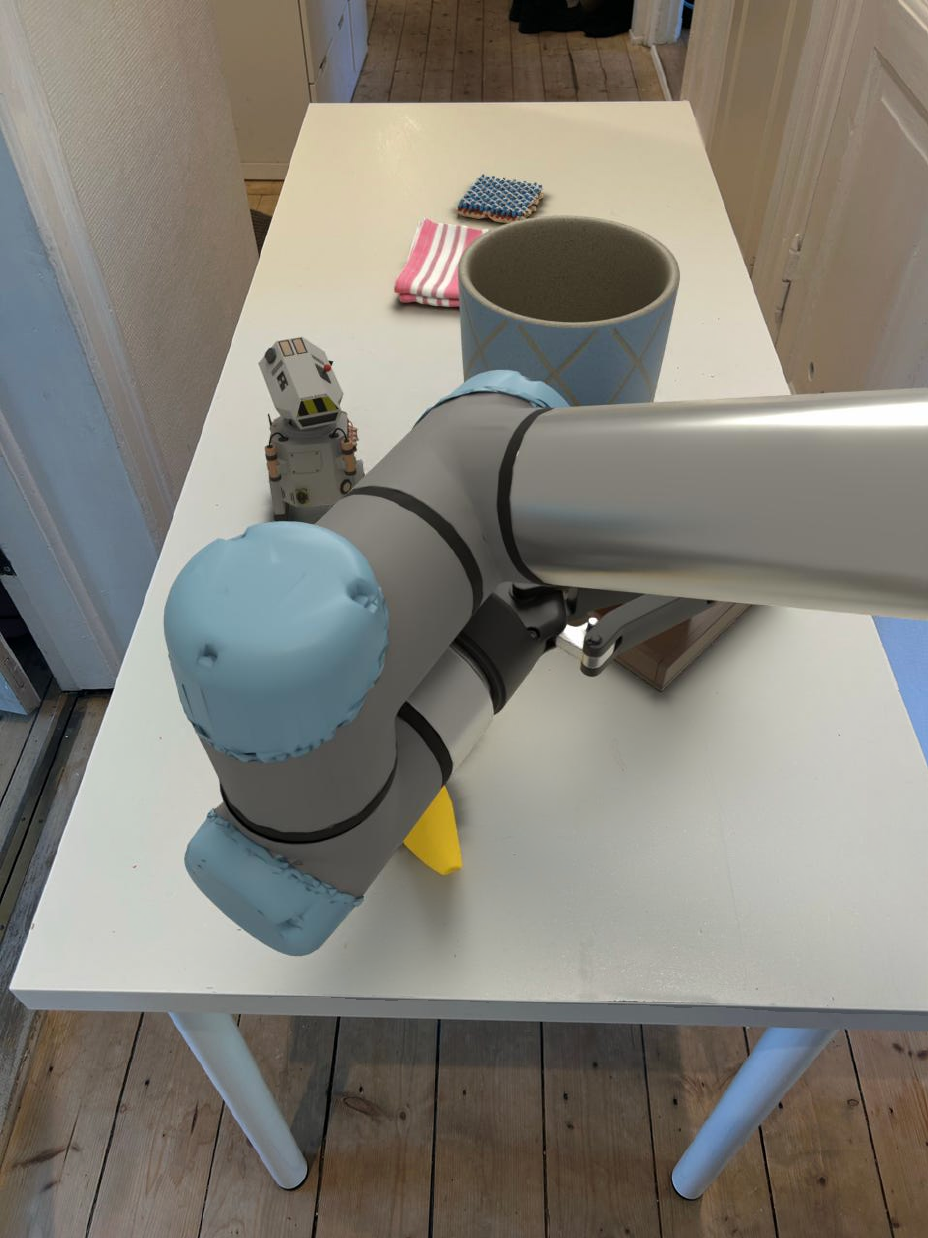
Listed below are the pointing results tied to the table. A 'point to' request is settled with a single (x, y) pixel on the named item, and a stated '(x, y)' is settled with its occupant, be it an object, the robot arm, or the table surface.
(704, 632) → the wooden tray
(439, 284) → the dish towel
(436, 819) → the banana peel
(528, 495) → the robot arm
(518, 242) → the planter
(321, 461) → the figurine
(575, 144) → the table surface
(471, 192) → the woven mat
